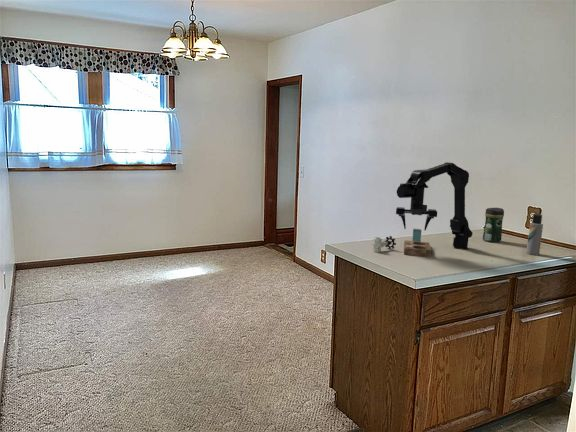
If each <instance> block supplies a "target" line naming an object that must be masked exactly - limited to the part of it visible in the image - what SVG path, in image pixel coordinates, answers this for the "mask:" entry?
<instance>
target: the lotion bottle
mask: <svg viewBox="0 0 576 432" xmlns="http://www.w3.org/2000/svg"><path fill="white" fill-rule="evenodd" d="M542 221H543V214H541V213H534V214H533V215H532V222H530V224H529V229H528V230H529V231H528V237H527V246H526V254H527V253H528V254H527V255H530V256H539V255H540V251H541V246H542V245H541V244H542V235H543V228H544V224H542Z"/></svg>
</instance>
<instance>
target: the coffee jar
mask: <svg viewBox="0 0 576 432" xmlns="http://www.w3.org/2000/svg"><path fill="white" fill-rule="evenodd" d="M504 215H505V211H504V209H503V208H501V207H487V208H486V209H485V213H484V216H485V221H484V229H483V234H482V240H483V241H484V242H487V243H488V242H490V243H498V242H501V241H502V237H503V235H502V234H503V221H504Z"/></svg>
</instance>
